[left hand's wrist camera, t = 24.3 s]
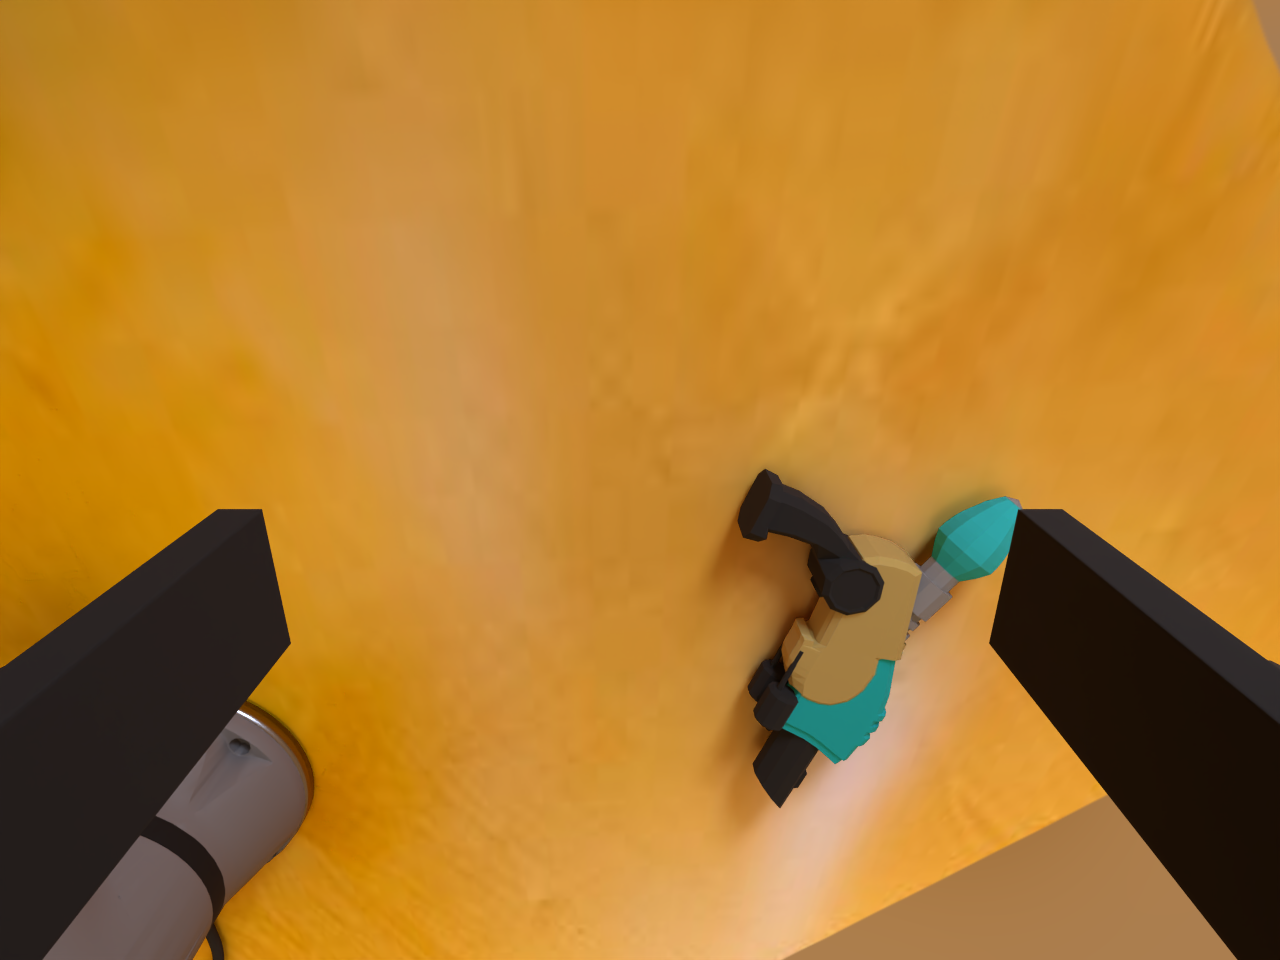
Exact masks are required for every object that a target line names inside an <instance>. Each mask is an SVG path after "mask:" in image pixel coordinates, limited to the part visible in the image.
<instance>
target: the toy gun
mask: <svg viewBox="0 0 1280 960" xmlns="http://www.w3.org/2000/svg"><path fill="white" fill-rule="evenodd" d="M1018 509H1022V507H1021V504H1020V502H1019V500H1017V499H1013V498H1009V497H1006V496H1005V497H1001V498H996V499H992V500H988V501H985V502H982V503H980V504H978V505H976V506H973V507H971V508H969V509H966V510H964V511H962V512H960V513H958V514H957V515H955V516H953V517H952V518H951V519H949V520H948V521H947V522H945V523H944V524H943V525H942V526H941V527H940V528H939V529H938V532H937V535H936V538H935V542H934V547H933V552H932V556H931V557H930V558H929V559H928V560H927V561H926V562H925V563H924V564H923V565H922V566H920V565H918V564H917V563H914V562H913V560H912V559H911V558H910V556H909V555H908V554H907V553H906V551H905V550H904V549H902V548H901V547H899V546H898V545H897V544H895V543H894V542H892V541H890V540H887V539H884V538H881V537H877V536H872V535H866V534H860V535H850V536H848V535H845V534H843V533H842V531H841V530H840V528H839V526H838V525H837V523H836V522H835V521H834V519H833V518H832V517H831V516H830V515H829V513H828V512H827V511H826V510H825V509H824V507H822V506H821V505H819V504H818V503H817V502H815V501H814V500H812V499H811V498H809V497H808V496H806V495H805V494H803V493H802V492H800V491H798V490H796V489H793V488H791V487H788V486H786V485H784V484H782V482H781V481H780V479H779V477H778V475H776V474H774V473H772V472H770V471H768V470H766V469H764V470H763V471H762V472H761V473H759V474H758V476H757V477H756V479H755V481H754V483H753V485H752V487H751V489H750V491H749V493H748V495H747V496H746V498H745V500H744V502H743V504H742V506H741V509H740V513H739V517H738V524H739V527H740V530H741V533H742V536H743V538H747V539H751V540H754V541H762V540H766V539H767V534H768V532H771V533H775V534H780V535H784V536H788V537H791V538H794V539H797V540H800V541H803V542H806V543H808V544H811V547H812V548H811V550H810V555H809V560H808V567H809V569H810V571H811V573H812V575H813V576H812V577H811V579H810V580H811V582H812V584H813V586H814V588H815V590H816V592H817V593H818V595H819V597H820V598H819V600H818V602H817V604H816V606H815V608H814V610H813V613H812V615H811V617H810V619H809V620H807V621H804V618H796V619H795V621H794V624H793V625H792V627H791V629H790V631H789V632H788V634H787V636H786V637H785V639H784V641H783V643H782V645H781V646H780V648H779V650H778V652H777V653H776V655H775V657H774V658H773V660H768V659H766V660H764V661H763V662H762V663H761V665H760V667H759V668H758V670H757V672H756V673H755V675H754V677H753V679H752V680H751V682H750V684H749V685H748V690H749V693H750V695H751V696H752V697H753V698H754V700H755V701H757V702H758V703H757V705H756V706H755V708H754V710H753V711H754V715H755V718H756V719H757V721H758V722H759V723H760V724H761V725H762V726H764V727H765V728H766V729H767V730H769V731H770V730H773V732H772V733H771V735H770V736H769V738H768V740H767V741H766V743H765V745H764V746H763V748H762V749H761V751H760V753H759V754H758V756H757V757H756V759H755V761H754V762H753V767H754V772H755V774H756V776H757V778H758V779H759V781H760V783H761V785H762V786H763V788H764V789H765V791H766V792H767V793H768V795H769V796H770V798H771V799H772V800H773V801H774V802H775V804H776V805H777V806H778V807H779V808H781V806H782V805H783V803H784V802H785V800H786V799H787V797H788V796H789V794H790V793H791V791H792V790H793V788H798V787H799V785H800V784H801V782H802V781H803V779H804V778H805V776H806V775H807V772H806V768H807V767H808V765H809V764H810V762H811V761H812V759H813V758H814V756H815V755H816V753H817V751H818V750H820V751H821V752H822V753H823V754H824V755H826V756H827V757H828V758H829V759H830V760H831V761H832V762H833V763H834V764H836V763H838V762H839V761H841V760H843V761H844V760H846V759H847V758H848V757H849V756H850V755H851V754H852V753H853V751H854V750H855V749H856V748H857V747H858V746H862V745H864V744H865V743H866V742H867V741H868V740H869V739H870V733H872V732H875V731H876V729H877V728H878V726H879V722H880V721H882V720H883V718H884V717H885V714H886V711H885V705H886V703H887V700H888V697H889V694H890V688H891V682H892V677H893V671H894V666H895V661H896V660H900V659H901V655H902V651H903V649H904V648H905V646H906V644H905V640H906V639H907V638H908V637H909V636H910V635H909V634H908V632H907V631H909V630H912V631H914V630H915V629H916V628H917V627H918V626H919V625H920V623H919V622H918V621H919V620H920V619H922V620H924V621H925V622H926V621H927V620H928V619H929V618H930V617H931V616H932V615H934V614H935V613H936V612H937V611H938V610H939V609H940V608H941V607H942V606H943V605H944V604H946V603H947V602H948V601H949V600H950V599H951V598H952V596H951V594H950V593H949V591H950V590H951V589H952V588H953V587H954V586H955V585H956V584H957V583H958V582H960V581H965V580H971V579H976V578H980V577H983V576H987V575H990V574H992V573H993V572H994V571H995V570H996V569H997V568H998V566H999V565H1000V564H1001V563H1002V561H1003V560H1004V559H1005V557H1006V556H1007V554H1008V553H1009V549H1010V544H1011V540H1012V535H1013V531H1014V526H1015V521H1016V517H1017V512H1018ZM781 656H783V662H784V665H783V664H781V663H779V662H778V661H779V659H780V658H781Z"/></svg>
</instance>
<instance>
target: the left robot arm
mask: <svg viewBox="0 0 1280 960" xmlns="http://www.w3.org/2000/svg"><path fill="white" fill-rule="evenodd" d="M290 644H291V642H290V637H289V633H288V628H287V623H286V619H285V614H284V609H283V605H282V600H281V595H280V591H279V586H278V582H277V577H276V572H275V568H274V563H273V558H272V554H271V549H270V544H269V540H268V535H267V531H266V526H265V521H264V517H263V512H262V509H217V510H216V511H215V512H213V513H212V514H211V515H209V516H208V517H207V518H205V519H204V520H203V521H201V522H200V523H198V524H197V525H196V526H194V527H193V528H192V529H190V530H189V531H188V532H186V533H185V534H184V535H182V536H181V537H179V538H178V539H177V540H175V541H174V542H173V543H171V544H170V545H169V546H167V547H166V548H164V549H163V550H162V551H160V552H159V553H158V554H156V555H155V556H154V557H152V558H151V559H150V560H148V561H147V562H145V563H144V564H143V565H141V566H140V567H139V568H137V569H136V570H135V571H133V572H132V573H131V574H129V575H128V576H126V577H125V578H124V579H122V580H121V581H120V582H118V583H117V584H116V585H114V586H113V587H112V588H110V589H109V590H107V591H106V592H105V593H103V594H102V595H101V596H99V597H98V598H97V599H95V600H94V601H93V602H91V603H90V604H88V605H87V606H86V607H84V608H83V609H82V610H80V611H79V612H78V613H76V614H75V615H73V616H72V617H71V618H69V619H68V620H67V621H65V622H64V623H63V624H61V625H60V626H59V627H57V628H56V629H54V630H53V631H52V632H50V633H49V634H48V635H46V636H45V637H44V638H42V639H41V640H40V641H38V642H37V643H35V644H34V645H33V646H31V647H30V648H29V649H27V650H26V651H25V652H23V653H22V654H21V655H19V656H18V657H16V658H15V659H14V660H12V661H11V662H10V663H8V664H7V665H6V666H4V667H2V668H0V960H193V958H194V956H195V955H196V953H197V951H198V949H199V948H200V946H201V944H202V942H203V941H204V939H205V937H206V938H207V941H208V943H209V945H210V948H211V951H212V955H213V960H224V952H223V946H222V942H221V939H220V937H219V934H218V932H217V930H216V927H215V925H214V922H215V920H216V918H217V917H218V915H219V913H220V912H221V910H222V908H223V907H224V905H225V904H226V903H227V902H228V901H229V900H230V899H231V898H232V897H233V896H234V895H235V894H236V893H237V892H238V891H239V890H240V889H241V888H242V887H243V886H244V885H245V884H246V883H247V882H248V881H249V880H250V879H251V878H252V877H253V876H254V875H255V874H256V873H257V872H258V871H259V870H260V869H261V868H262V867H263V866H264V865H265V864H266V863H268V862H269V861H270V860H271V859H273V858H274V857H275V856H276V855H278V854H279V853H280V852H281V851H282V850H283V849H284V848H285V847H286V846H287V844H288V843H289V842H290V841H291V839H292V838H293V837H294V835H295V834H296V833H297V831H298V830H299V828H300V826H301V824H302V822H303V820H304V819H305V817H306V815H307V813H308V811H309V809H310V806H311V804H312V800H313V794H314V779H313V773H312V769H311V766H310V763H309V761H308V758H307V756H306V754H305V752H304V751H303V749H302V747H301V746H300V744H299V743H298V741H297V740H296V739H295V738H294V736H293V735H292V734H291V733H290V732H289V731H288V730H287V729H286V728H285V727H284V726H283V725H282V724H281V723H280V722H279V721H277V720H276V719H275V718H274V717H272V716H271V715H269V714H268V713H267V712H265V711H263V710H262V709H260V708H259V707H257V706H255V705H253V704H251V703H249V702H247V701H246V700H247V699H248V697H249V696H250V695H251V693H252V692H253V691H254V690H255V688H256V687H257V686H258V685H259V683H260V682H261V681H262V679H263V678H264V677H265V676H266V674H267V673H268V672H269V671H270V669H271V668H272V667H273V665H274V664H275V663H276V662H277V660H278V659H279V658H280V657H281V655H282V654H283V653H284V651H285V650H286V649H287V648H288V646H289V645H290ZM989 644H990V645H991V646H992V648H993V649H994V650H995V651H996V653H997V654H998V655H999V657H1000V658H1001V659H1002V660H1003V662H1004V663H1005V664H1006V665H1007V667H1008V668H1009V669H1010V671H1011V672H1012V673H1013V674H1014V676H1015V677H1016V678H1017V679H1018V681H1019V682H1020V683H1021V685H1022V686H1023V687H1024V688H1025V690H1026V691H1027V692H1028V693H1029V695H1030V696H1031V697H1032V699H1033V700H1034V701H1035V702H1036V704H1037V705H1038V706H1039V707H1040V709H1041V710H1042V711H1043V713H1044V714H1045V715H1046V716H1047V718H1048V719H1049V720H1050V721H1051V723H1052V724H1053V725H1054V727H1055V728H1056V729H1057V730H1058V732H1059V733H1060V734H1061V736H1062V737H1063V738H1064V739H1065V741H1066V742H1067V743H1068V744H1069V746H1070V747H1071V748H1072V750H1073V751H1074V752H1075V753H1076V755H1077V756H1078V757H1079V758H1080V760H1081V761H1082V762H1083V764H1084V765H1085V766H1086V767H1087V769H1088V770H1089V771H1090V772H1091V774H1092V775H1093V776H1094V778H1095V779H1096V780H1097V781H1098V783H1099V784H1100V785H1101V786H1102V788H1103V789H1104V790H1105V792H1106V793H1107V794H1108V795H1109V797H1110V798H1111V799H1112V800H1113V802H1114V803H1115V804H1116V806H1117V807H1118V808H1119V809H1120V811H1121V812H1122V813H1123V814H1124V816H1125V817H1126V818H1127V819H1128V821H1129V822H1130V823H1131V825H1132V826H1133V827H1134V828H1135V830H1136V831H1137V832H1138V834H1139V835H1140V836H1141V837H1142V839H1143V840H1144V841H1145V842H1146V844H1147V845H1148V846H1149V848H1150V849H1151V850H1152V851H1153V853H1154V854H1155V855H1156V857H1157V858H1158V859H1159V860H1160V862H1161V863H1162V864H1163V865H1164V867H1165V868H1166V869H1167V871H1168V872H1169V873H1170V874H1171V876H1172V877H1173V878H1174V879H1175V881H1176V882H1177V883H1178V885H1179V886H1180V887H1181V888H1182V890H1183V891H1184V892H1185V894H1186V895H1187V896H1188V897H1189V899H1190V900H1191V901H1192V902H1193V904H1194V905H1195V906H1196V908H1197V909H1198V910H1199V911H1200V912H1201V914H1202V915H1203V916H1204V918H1205V919H1206V920H1207V922H1208V923H1209V924H1210V925H1211V927H1212V928H1213V929H1214V930H1215V932H1216V933H1217V934H1218V936H1219V937H1220V938H1221V939H1222V941H1223V942H1224V943H1225V944H1226V946H1227V947H1228V948H1229V950H1230V951H1231V952H1232V953H1233V955H1234V956H1235V957H1236V958H1237V960H1280V665H1278V664H1276V663H1274V662H1272V661H1268V660H1266V659H1265V658H1264V657H1262V656H1261V655H1259V654H1258V653H1257V652H1255V651H1254V650H1253V649H1251V648H1250V647H1249V646H1247V645H1246V644H1245V643H1243V642H1242V641H1240V640H1239V639H1238V638H1236V637H1235V636H1234V635H1232V634H1231V633H1230V632H1228V631H1227V630H1226V629H1224V628H1223V627H1221V626H1220V625H1219V624H1217V623H1216V622H1215V621H1213V620H1212V619H1211V618H1209V617H1208V616H1207V615H1205V614H1204V613H1202V612H1201V611H1200V610H1198V609H1197V608H1196V607H1194V606H1193V605H1192V604H1190V603H1189V602H1187V601H1186V600H1185V599H1183V598H1182V597H1181V596H1179V595H1178V594H1177V593H1175V592H1174V591H1173V590H1171V589H1170V588H1168V587H1167V586H1166V585H1164V584H1163V583H1162V582H1160V581H1159V580H1158V579H1156V578H1155V577H1154V576H1152V575H1151V574H1149V573H1148V572H1147V571H1145V570H1144V569H1143V568H1141V567H1140V566H1139V565H1137V564H1136V563H1135V562H1133V561H1132V560H1130V559H1129V558H1128V557H1126V556H1125V555H1124V554H1122V553H1121V552H1120V551H1118V550H1117V549H1116V548H1114V547H1113V546H1111V545H1110V544H1109V543H1107V542H1106V541H1105V540H1103V539H1102V538H1101V537H1099V536H1098V535H1096V534H1095V533H1094V532H1092V531H1091V530H1090V529H1088V528H1087V527H1086V526H1084V525H1083V524H1082V523H1080V522H1079V521H1077V520H1076V519H1075V518H1073V517H1072V516H1071V515H1069V514H1068V513H1067V512H1065V511H1064V510H1063V509H1018V512H1017V517H1016V521H1015V526H1014V531H1013V535H1012V540H1011V544H1010V549H1009V554H1008V558H1007V563H1006V568H1005V572H1004V577H1003V582H1002V586H1001V591H1000V595H999V600H998V605H997V609H996V614H995V619H994V623H993V628H992V633H991V637H990V642H989Z"/></svg>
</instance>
